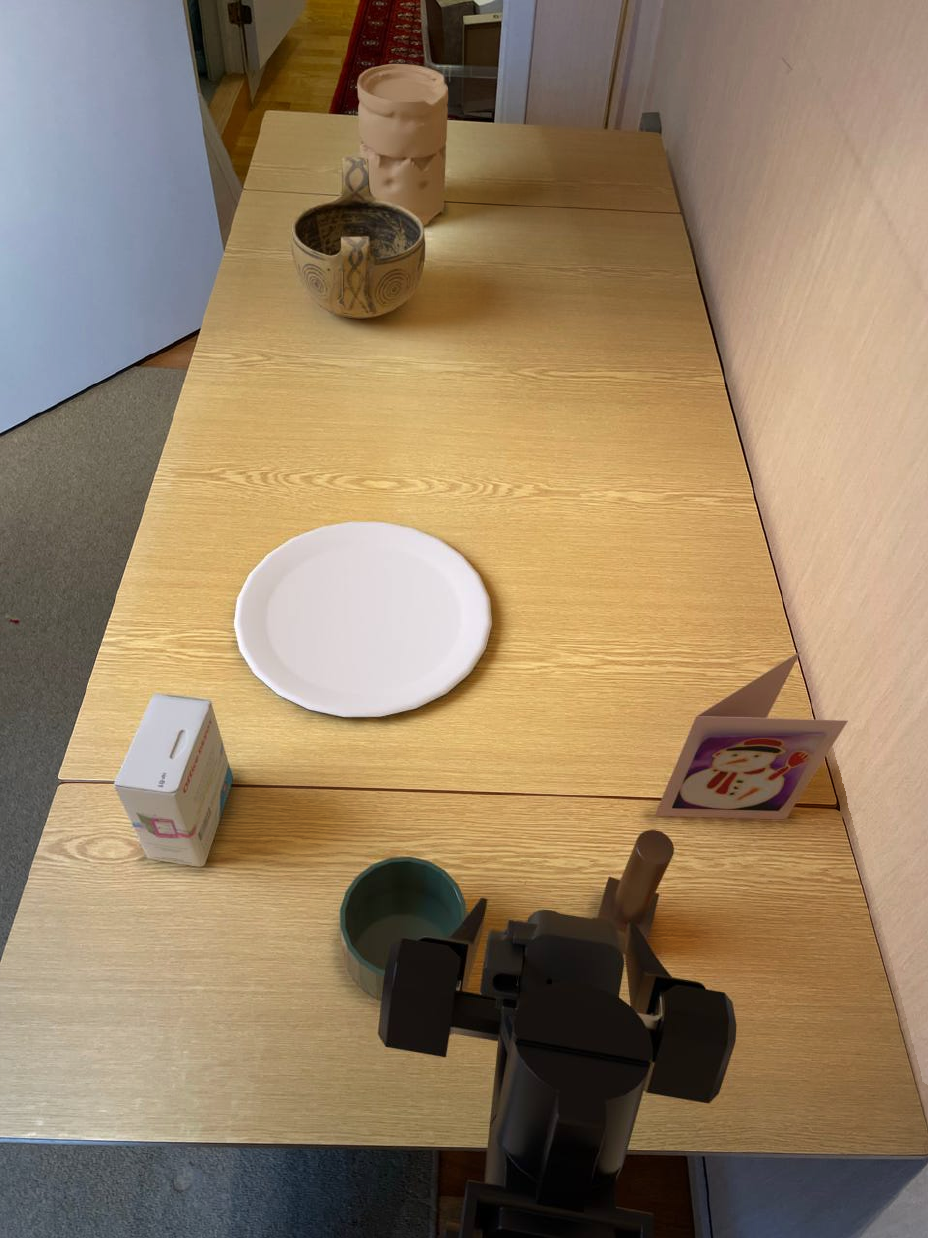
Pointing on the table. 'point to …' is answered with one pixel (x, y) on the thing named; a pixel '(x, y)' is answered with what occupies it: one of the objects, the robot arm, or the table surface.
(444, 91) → the container
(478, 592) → the plate
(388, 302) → the ceramic bowl
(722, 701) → the greeting card
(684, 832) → the table surface
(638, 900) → the brown stamp
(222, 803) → the ink box
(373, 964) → the green and tan cup
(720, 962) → the table surface
